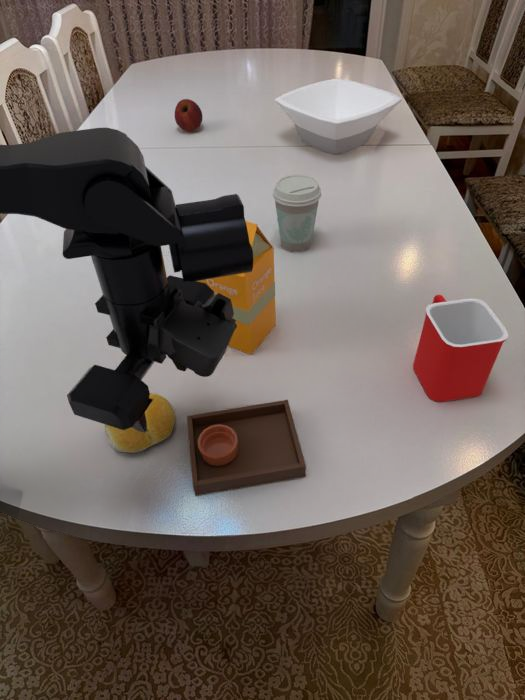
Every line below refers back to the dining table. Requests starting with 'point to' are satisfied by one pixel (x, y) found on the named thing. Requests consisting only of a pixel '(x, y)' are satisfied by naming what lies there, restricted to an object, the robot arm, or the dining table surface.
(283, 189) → the coffee cup
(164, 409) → the bread roll
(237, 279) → the orange juice
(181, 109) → the apple
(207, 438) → the side dish
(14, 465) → the dining table surface
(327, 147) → the bowl
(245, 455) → the serving tray
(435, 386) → the mug
